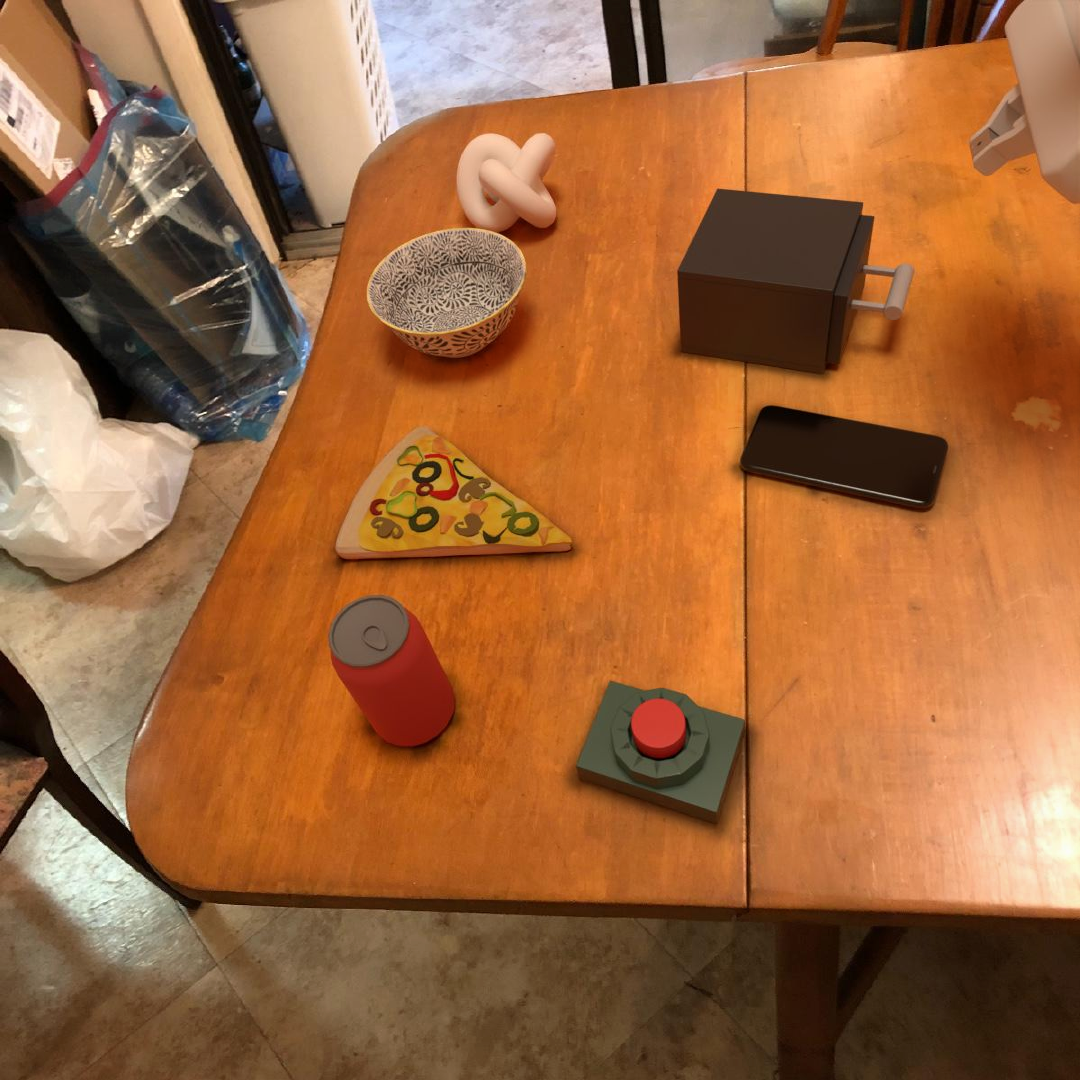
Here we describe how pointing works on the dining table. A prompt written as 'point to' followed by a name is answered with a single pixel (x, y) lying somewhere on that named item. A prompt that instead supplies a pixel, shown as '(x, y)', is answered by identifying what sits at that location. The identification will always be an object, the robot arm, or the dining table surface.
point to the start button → (658, 728)
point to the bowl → (449, 290)
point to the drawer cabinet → (765, 278)
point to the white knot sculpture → (506, 181)
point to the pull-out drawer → (852, 287)
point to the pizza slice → (439, 508)
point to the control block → (671, 782)
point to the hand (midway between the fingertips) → (976, 159)
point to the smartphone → (846, 455)
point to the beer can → (391, 670)
